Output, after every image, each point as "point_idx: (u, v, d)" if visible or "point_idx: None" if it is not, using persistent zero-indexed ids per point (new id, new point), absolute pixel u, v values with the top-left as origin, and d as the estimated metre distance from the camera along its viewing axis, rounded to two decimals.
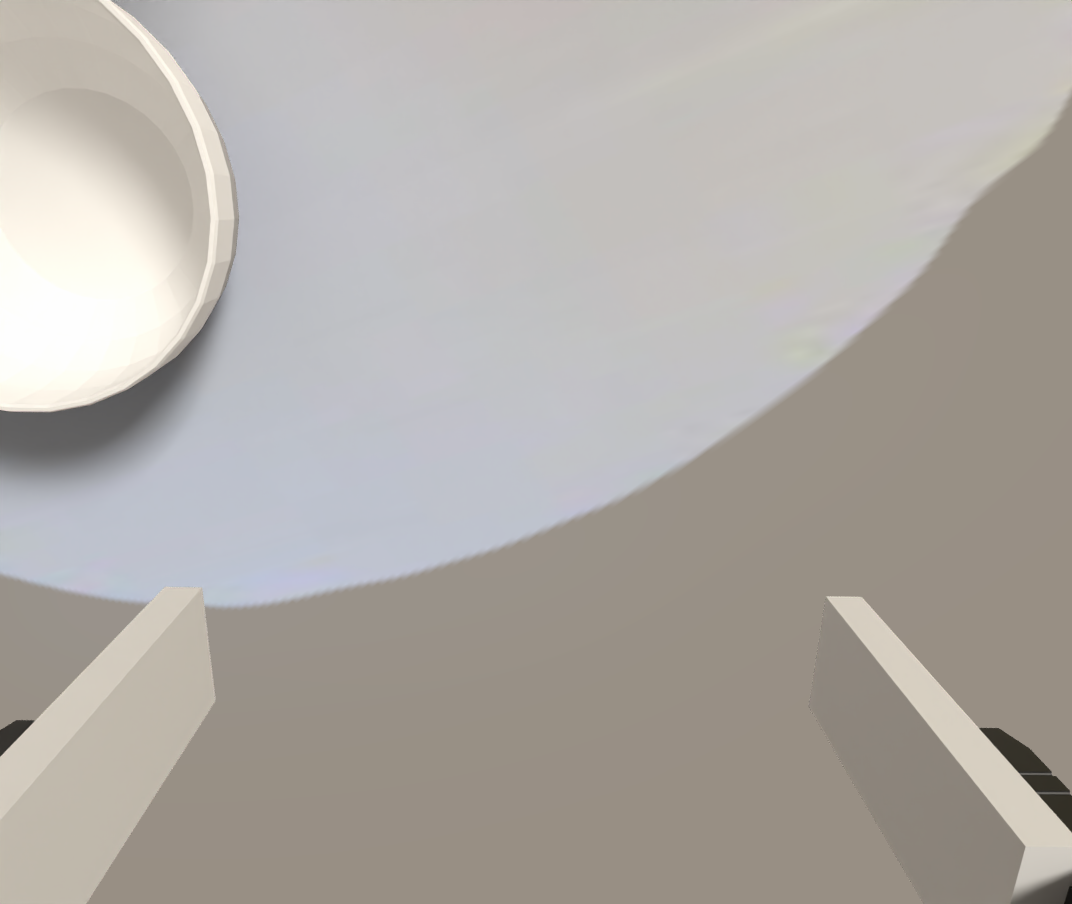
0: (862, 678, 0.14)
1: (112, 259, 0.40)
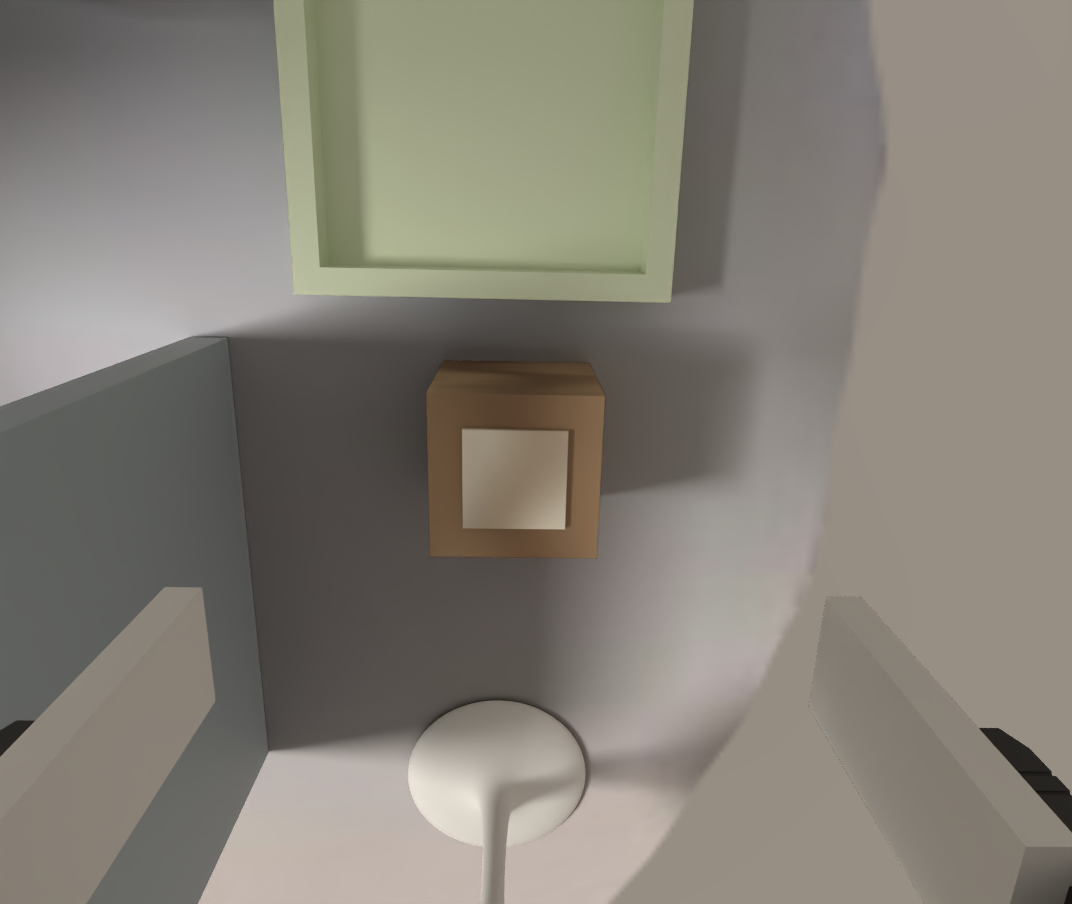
0: (862, 678, 0.14)
1: None
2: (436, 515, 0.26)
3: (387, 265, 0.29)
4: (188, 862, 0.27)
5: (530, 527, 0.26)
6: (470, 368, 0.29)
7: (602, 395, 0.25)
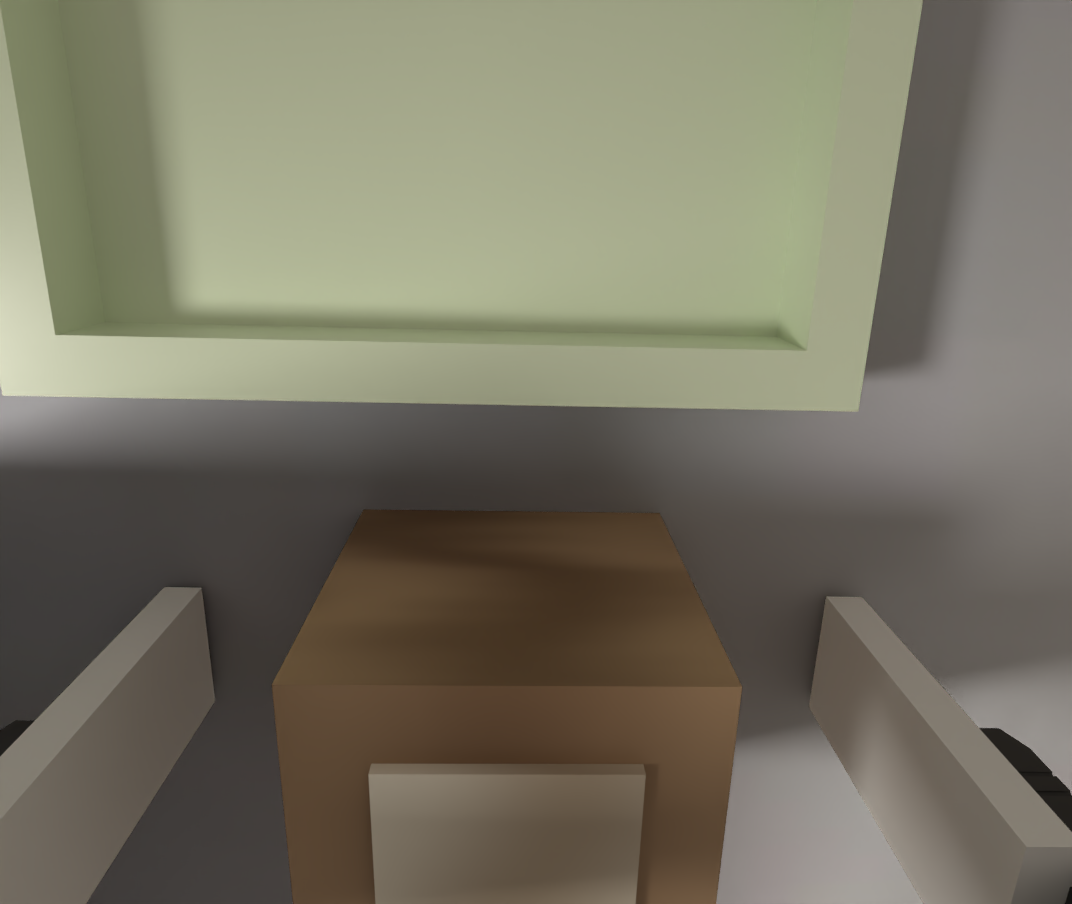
0: (862, 678, 0.14)
1: None
2: None
3: (231, 324, 0.13)
4: None
5: None
6: (413, 543, 0.14)
7: (734, 683, 0.10)
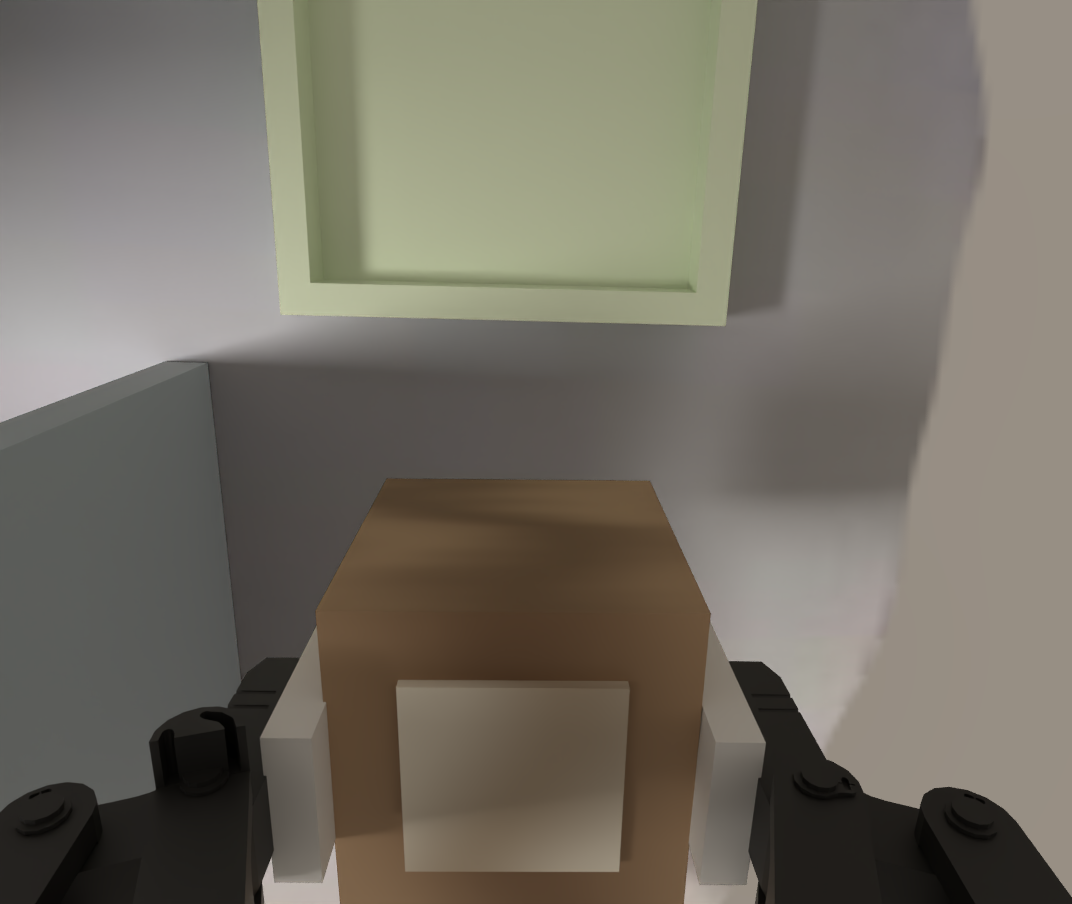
0: None
1: None
2: (351, 842, 0.13)
3: (391, 280, 0.25)
4: None
5: (546, 867, 0.13)
6: (430, 506, 0.15)
7: (704, 610, 0.11)
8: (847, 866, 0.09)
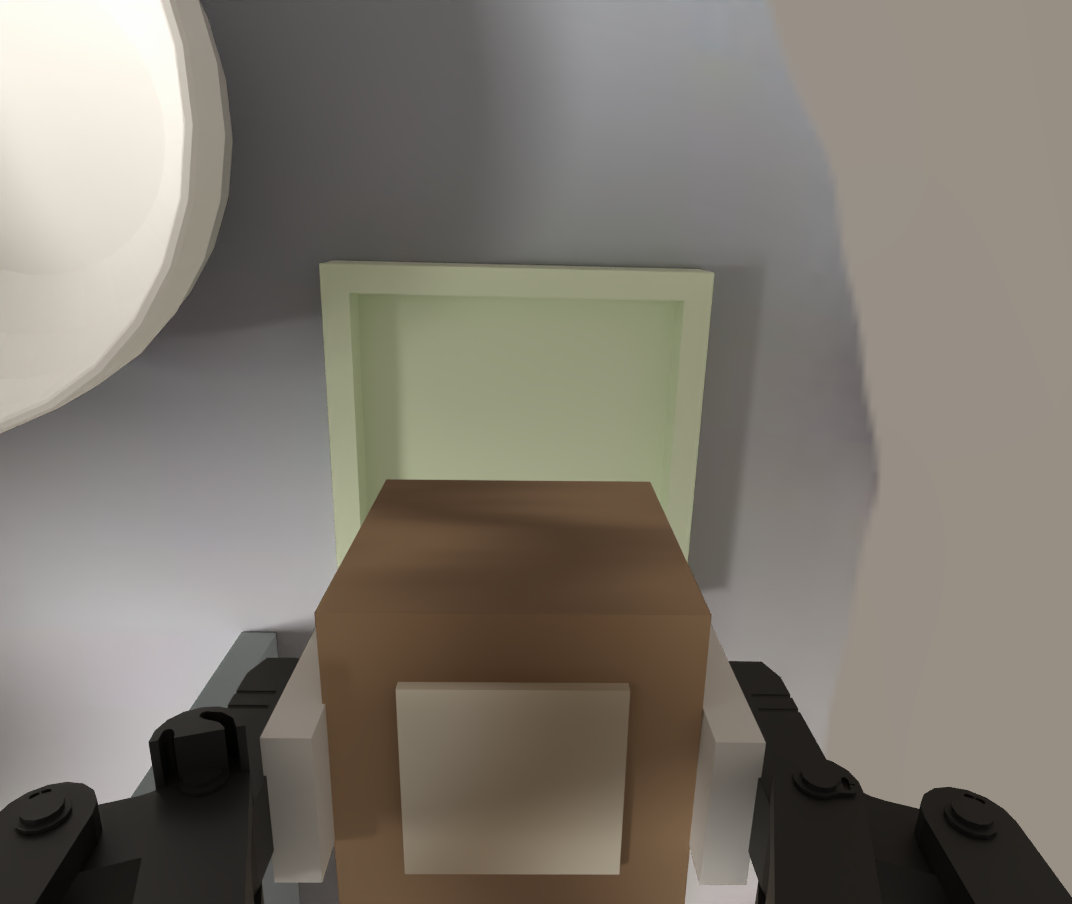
0: None
1: (33, 29, 0.25)
2: (351, 844, 0.13)
3: None
4: None
5: (547, 869, 0.13)
6: (430, 507, 0.15)
7: (705, 612, 0.11)
8: (847, 866, 0.09)
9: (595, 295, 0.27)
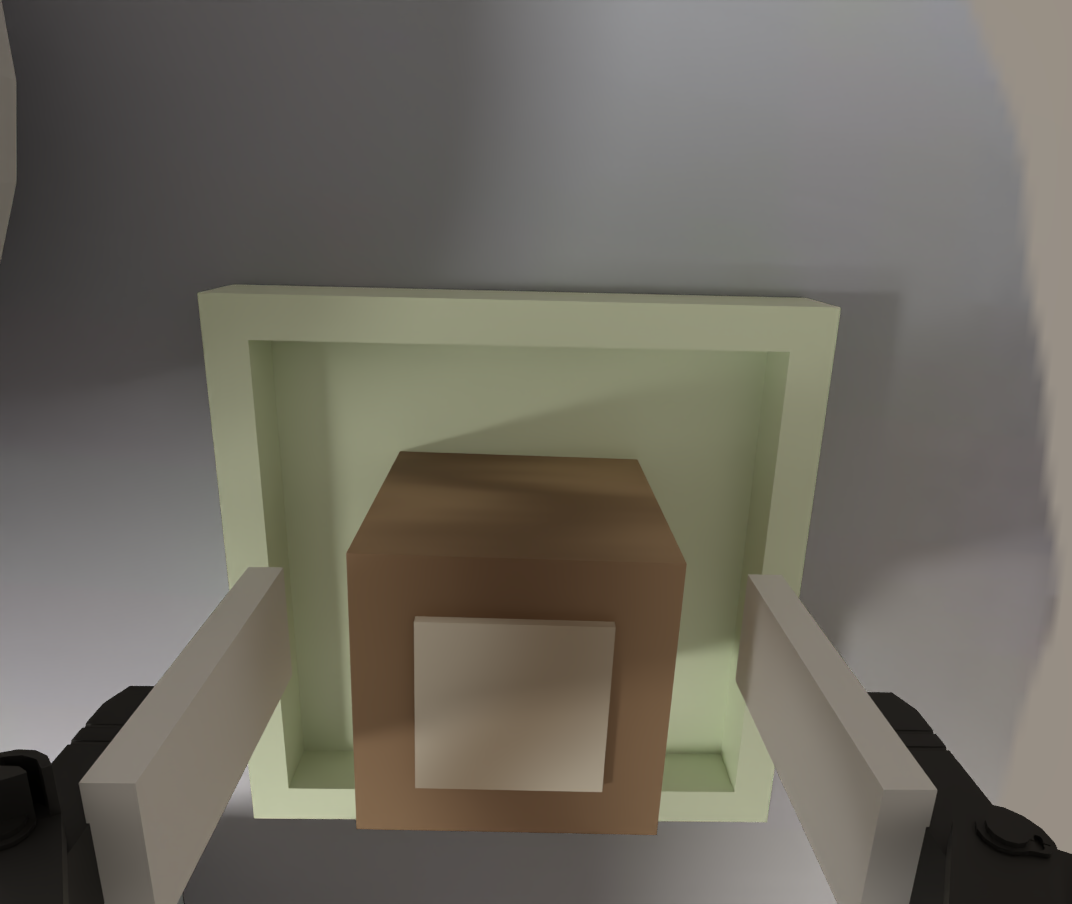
0: (773, 648, 0.15)
1: None
2: (368, 762, 0.14)
3: None
4: None
5: (539, 786, 0.15)
6: (441, 474, 0.17)
7: (681, 561, 0.13)
8: None
9: (647, 343, 0.17)
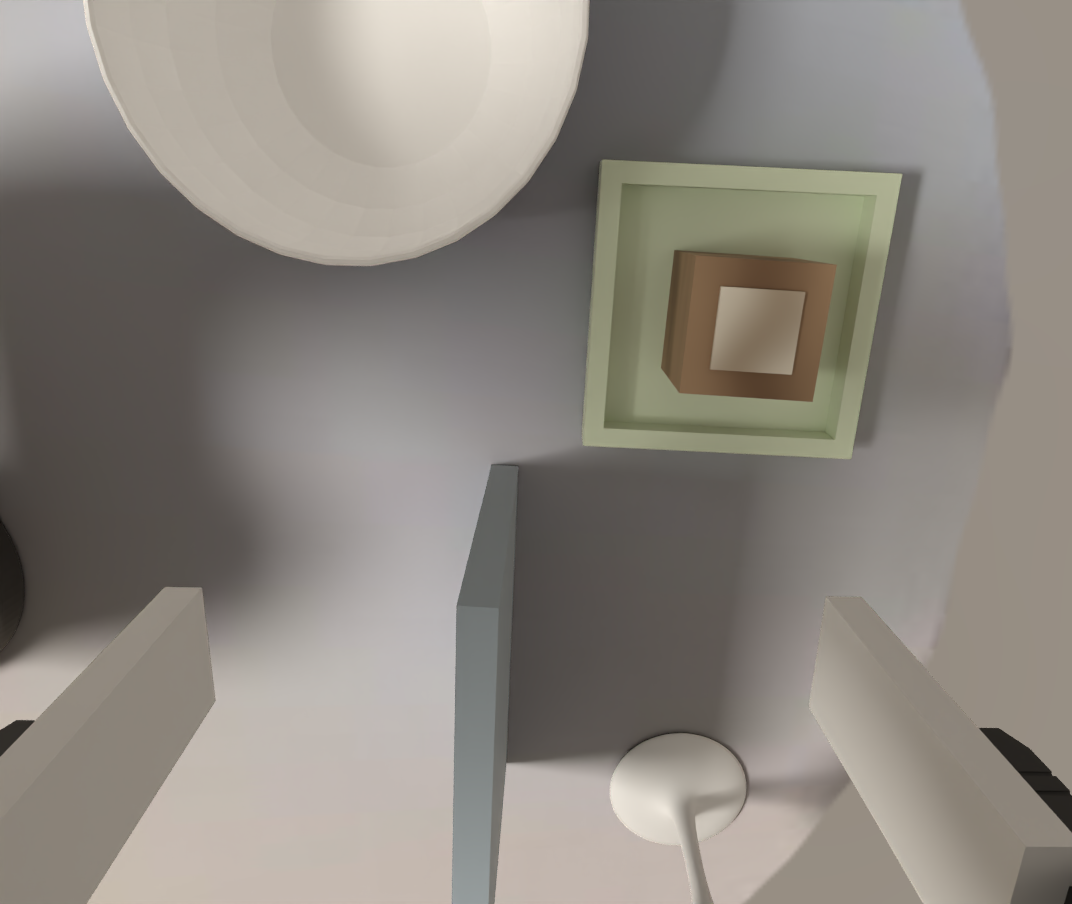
0: (862, 677, 0.14)
1: None
2: (689, 358, 0.33)
3: (643, 422, 0.40)
4: None
5: (763, 371, 0.33)
6: None
7: (834, 264, 0.32)
8: None
9: (808, 189, 0.35)
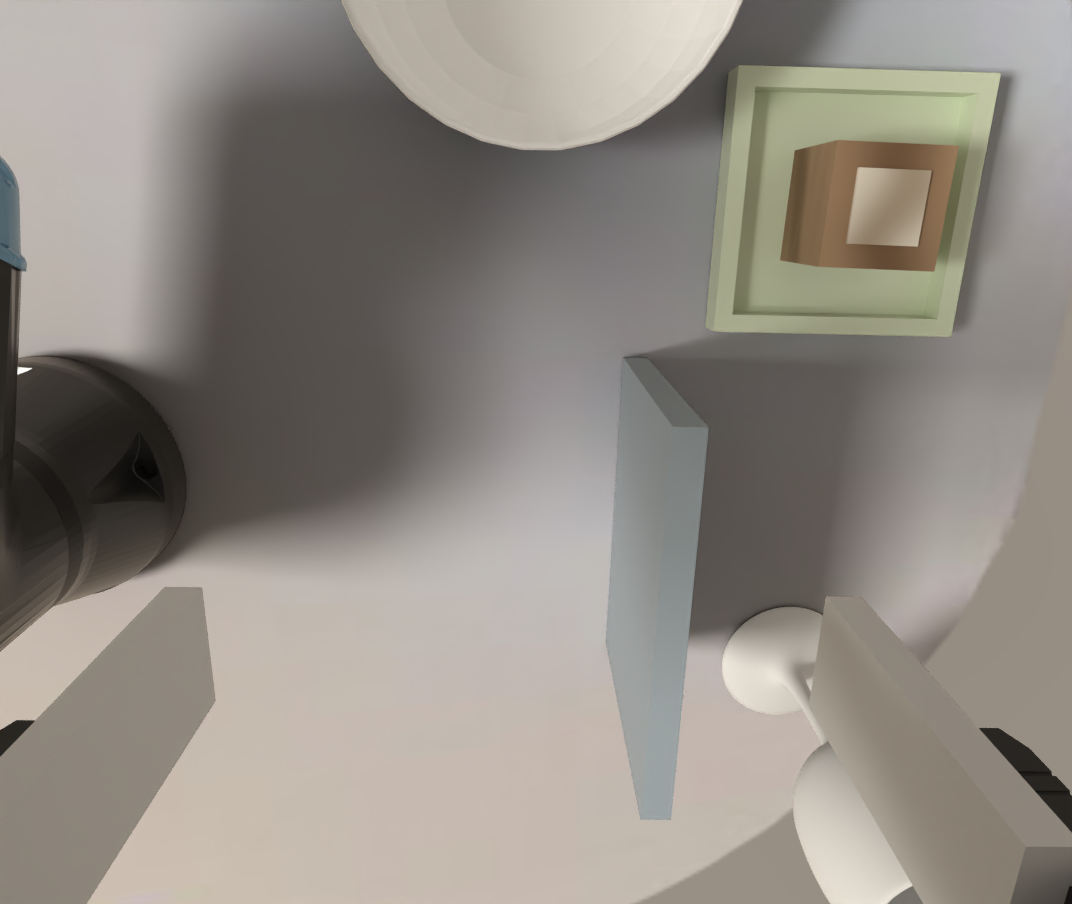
0: (862, 677, 0.14)
1: None
2: (828, 234, 0.38)
3: (763, 312, 0.45)
4: None
5: (893, 244, 0.38)
6: None
7: None
8: None
9: (919, 89, 0.40)
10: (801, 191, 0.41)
